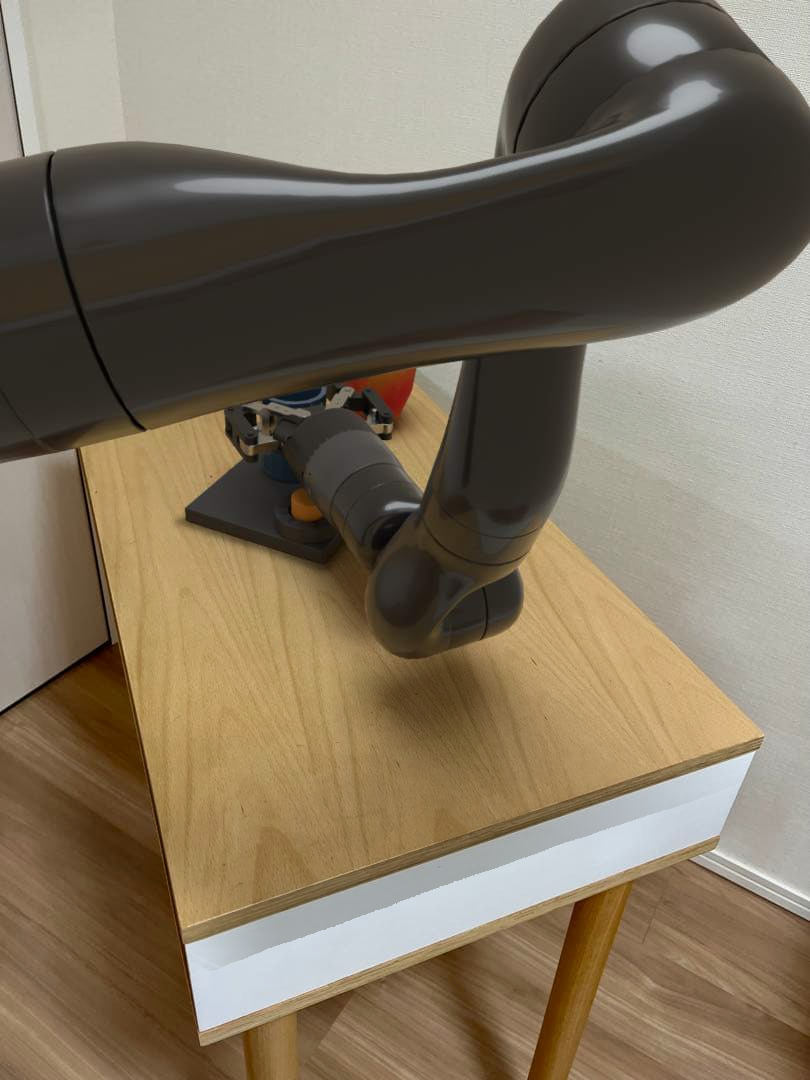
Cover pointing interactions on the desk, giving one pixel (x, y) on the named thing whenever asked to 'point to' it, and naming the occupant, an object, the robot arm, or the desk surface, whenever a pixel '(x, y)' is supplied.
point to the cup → (271, 460)
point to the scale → (261, 513)
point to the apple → (388, 388)
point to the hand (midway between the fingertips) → (283, 387)
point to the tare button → (304, 507)
